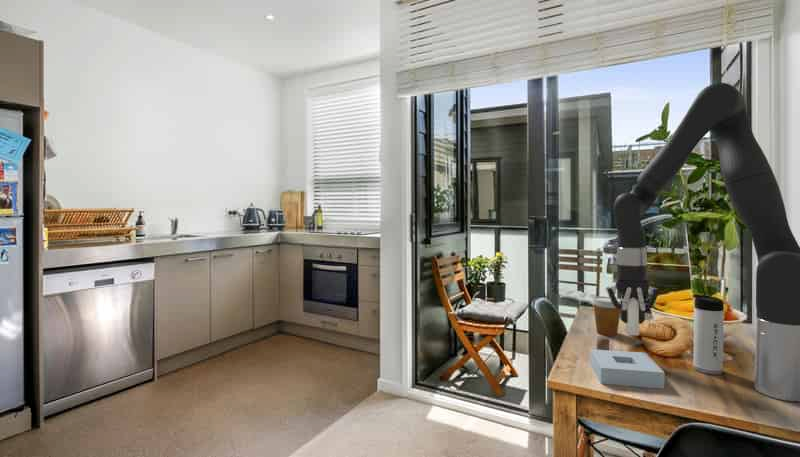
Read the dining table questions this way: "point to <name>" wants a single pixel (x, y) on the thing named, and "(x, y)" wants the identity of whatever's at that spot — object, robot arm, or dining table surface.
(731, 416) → the dining table surface
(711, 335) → the travel mug
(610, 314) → the disposable coffee cup
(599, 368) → the jig block
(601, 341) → the short pin
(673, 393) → the dining table surface
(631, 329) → the long pin
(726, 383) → the dining table surface
